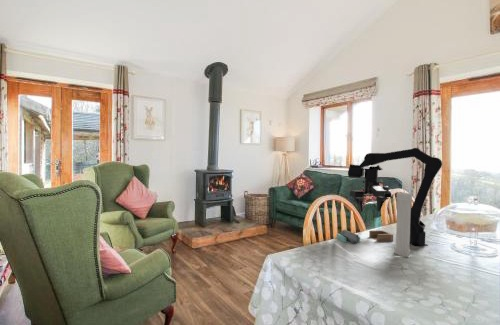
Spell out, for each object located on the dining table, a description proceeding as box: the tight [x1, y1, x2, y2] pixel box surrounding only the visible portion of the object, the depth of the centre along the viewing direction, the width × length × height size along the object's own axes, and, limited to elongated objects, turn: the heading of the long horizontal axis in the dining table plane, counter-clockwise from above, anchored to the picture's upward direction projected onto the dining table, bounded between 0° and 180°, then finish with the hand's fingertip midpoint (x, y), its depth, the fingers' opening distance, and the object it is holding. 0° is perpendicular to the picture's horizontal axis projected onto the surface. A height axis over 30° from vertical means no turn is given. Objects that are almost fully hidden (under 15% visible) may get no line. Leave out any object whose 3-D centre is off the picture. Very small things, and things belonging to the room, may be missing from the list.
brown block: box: [368, 229, 394, 243], centre depth 132 cm, size 7×7×4 cm
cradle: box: [336, 233, 361, 243], centre depth 130 cm, size 7×8×2 cm
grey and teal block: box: [340, 229, 360, 245], centre depth 128 cm, size 8×4×4 cm, turn 15°
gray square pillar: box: [394, 178, 413, 258], centre depth 113 cm, size 6×6×30 cm
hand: (369, 211), depth 138 cm, fingers open, 9 cm apart
